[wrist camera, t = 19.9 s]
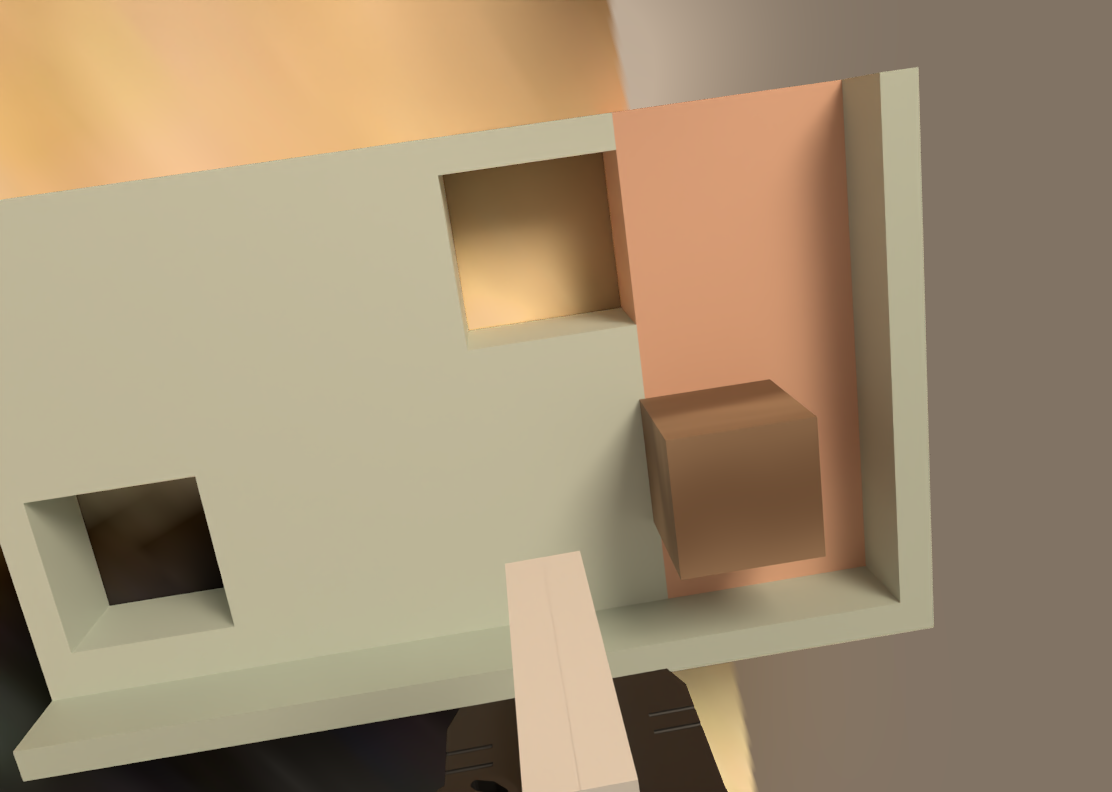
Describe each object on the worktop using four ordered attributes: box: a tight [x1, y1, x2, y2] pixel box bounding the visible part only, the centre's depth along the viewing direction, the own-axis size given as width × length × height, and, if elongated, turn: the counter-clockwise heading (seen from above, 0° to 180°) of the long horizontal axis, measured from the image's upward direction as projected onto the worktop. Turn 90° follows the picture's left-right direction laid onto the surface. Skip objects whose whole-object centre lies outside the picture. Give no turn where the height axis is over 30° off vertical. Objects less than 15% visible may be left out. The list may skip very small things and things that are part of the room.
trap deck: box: [0, 67, 934, 781], centre depth 27 cm, size 16×27×6 cm, turn 98°
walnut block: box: [639, 379, 826, 580], centre depth 26 cm, size 4×4×4 cm
